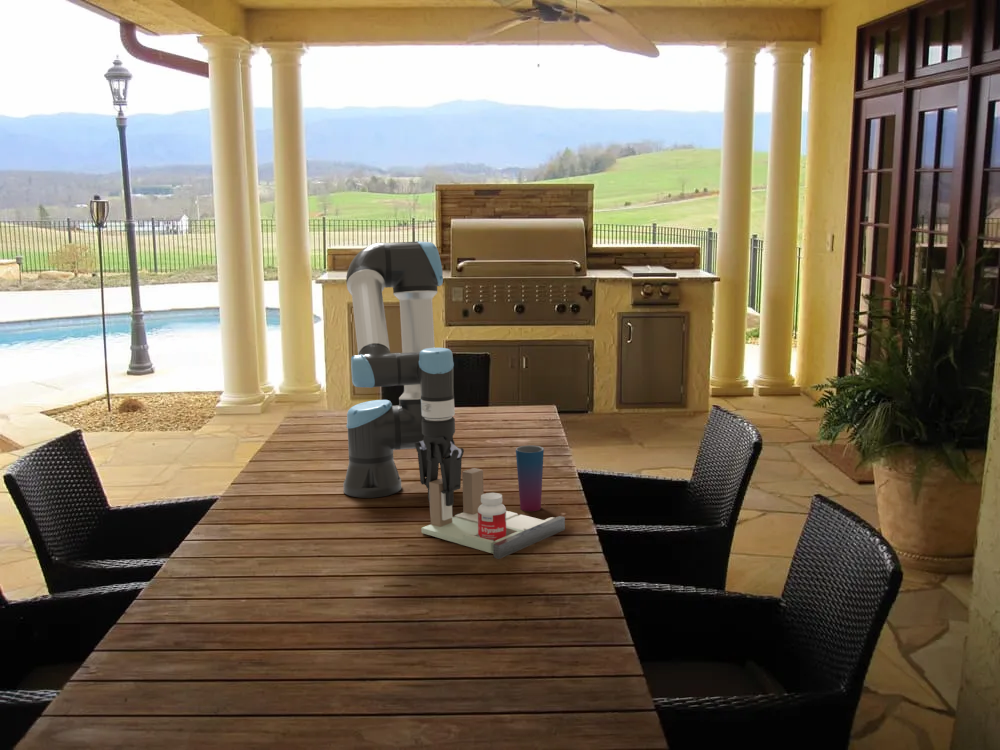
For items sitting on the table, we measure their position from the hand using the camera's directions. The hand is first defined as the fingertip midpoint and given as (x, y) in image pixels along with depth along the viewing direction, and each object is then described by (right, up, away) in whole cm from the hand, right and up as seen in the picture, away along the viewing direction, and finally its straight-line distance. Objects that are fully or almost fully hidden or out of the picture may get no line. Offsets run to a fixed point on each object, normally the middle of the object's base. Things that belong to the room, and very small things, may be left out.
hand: (441, 516), depth 217 cm
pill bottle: (+12, -5, -9) cm, 16 cm away
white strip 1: (+10, -2, +6) cm, 12 cm away
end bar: (+20, -4, -9) cm, 23 cm away
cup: (+21, 0, +15) cm, 26 cm away
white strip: (+19, -3, -1) cm, 19 cm away
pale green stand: (+7, -4, -6) cm, 10 cm away
